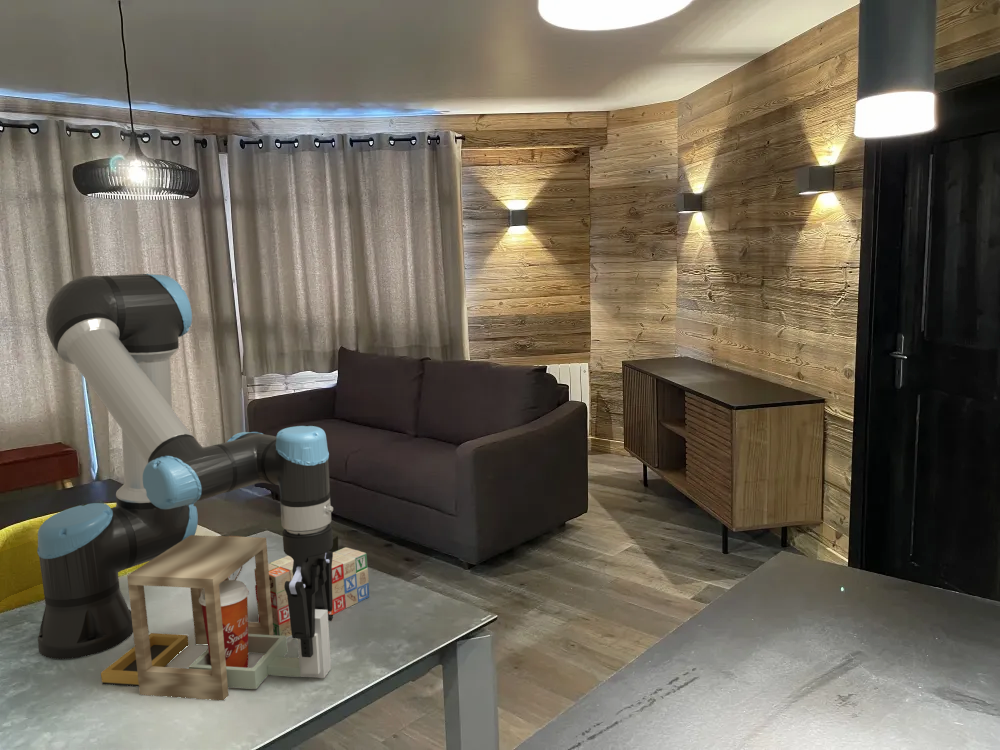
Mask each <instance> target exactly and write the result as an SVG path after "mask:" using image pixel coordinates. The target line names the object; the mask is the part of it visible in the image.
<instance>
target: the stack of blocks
mask: <svg viewBox="0 0 1000 750" xmlns="http://www.w3.org/2000/svg"><path fill="white" fill-rule="evenodd" d="M332 552H333V559H332V602H333V608H332V611H331V612H328V613H329V614H330V615H333V616H334V615H335V614H337V613H340V612H342V611H344V610H346V609H348V608H349V607H352V606H354V605H355V604H358V603H360V602H362V601H364V600H366V599H368V598H370V584H369V568H368V557H367V553H366V552H364V551H360V550H358V549H354V548H350V547H343V548H341V549H338V550H335V551H332ZM293 561H294V560H293V559H292V558H291V557H290V556H288V555H285V556H284V557H282V558H279V559H276V560H273V561H272V562H268V568H269V581H270V594H271V607H272V620H273V633H274V635H279V636H286V639H287V638H289V637H292V633H291V624H290V615H289V606H288V597H287V593H286V591H285V588H284V585H285V582H286V581H291V580H292V578H293V572H292V569H293ZM253 570H254V580H255V585H254V589H255V590H254V591H255V597H256V599H255V600H256V605H257V617H258V619H257V620H258V622H260V614H259V601H258V588H257V576H256V567H255V568H254V569H253Z"/></svg>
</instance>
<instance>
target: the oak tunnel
mask: <svg viewBox="0 0 1000 750" xmlns="http://www.w3.org/2000/svg"><path fill="white" fill-rule="evenodd" d="M267 543H268V542H267V537H256V536H253V537H251V536H242V537H229V535H227V536H222V535H190V536H189V537H187V538H186V539H184V540H182V541H181V542H179V543H178V544H176V545H174V546H173V547H171V548H170V549H168V550H167V551H165V552H163V553H162V554H160V555H159V556H157V557H156V558H154V559H152V560H151V561H148V562H145V563H143V564H142V566H140V567H138V568H137V569H135V570H134V571H131V572H130V573H129V574H126V575H127V586H128V595H129V605H130V611H131V616H132V626H133V633H132V635H133V641H134V642H133V643H134V646H135V654H136V663H137V673H138V682H139V687H138V690H139V695H140V696H151V695H152V697H153V695H154V697H163V696H167V697H166V698H177V697H181V698H180V699H191V698H196V699H195V700H205V699H207V701H208V700H209V699H211V700H209V701H219V700H224V699H225V698H226V697H228V696H230V695H229V687H228V683H227V671H226V660H225V648H224V637H223V625H222V614H221V602H220V591H219V584H220V583H221V582H223V581H224V580H225V579H226V578H228V577H229V576H230V575H231V574H233V573H234V572H235V571H236V570H238V569H239V568H240V567H241V566H242V567H243V566H244V565H245V564H246V563H248V562H249V561H250V560H251V559H253V558H254V559H255V561H254V562H255V568H256V576H257V588H258V601H259V614H260V622H259V621H258V622H257V621H255V622H254V621H248V634H261V635H274V633H273V620H272V607H271V594H270V581H269V568H268V564H269V559H268V557H269V556H268V547H267V546H268V545H267ZM147 586H148V587H168V588H169V587H170V588H189V589H190V597H191V609H192V622H193V629H194V631H193V632H194V639H195V643H194V644H195V645H196V644H207V637H206V631H205V624H204V618H203V611H202V605H201V604H200V603H199V598H200V596H201V592H202V590H203V589H204V591H205V602H206V613H207V624H208V635H209V646H210V657H211V668H212V670H202V669H189V668H185V667H184V668H183V667H171V666H169V667H167V666H165V667H156V666H152V660H151V650H150V641H149V634H150V633H149V622H148V614H147V613H148V612H147V603H146V594H145V587H147ZM171 696H172V697H171ZM185 697H186V698H185ZM226 699H227V698H226ZM226 699H225V700H226ZM225 700H224V701H225Z"/></svg>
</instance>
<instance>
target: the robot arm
mask: <svg viewBox="0 0 1000 750" xmlns="http://www.w3.org/2000/svg"><path fill="white" fill-rule="evenodd" d="M50 300H51V301H50V303H49V305H48V307H47V311H46V316H45V317H46V318H45V324H46V333H47V335H48V339H49V341H50V343H51V345H52V347H53V348H54V350H55V351H56V353H57V354H58V356H60V358H61V359H62V360H63V361H64V362H66V363H68V364H72V365H74V366H75V367H76V369H77V371H78V372H80V374H81V376H82V377H83V378H84V380H85V381H86V382H87V384H88V385H89V386H90V388H91V389H92V391H93V392H94V393H95V394H96V396H97V397H98V398H99V400H100V401H101V403H102V404H103V405H104V407H105V408H106V409H107V412H109V414H110V415H111V416H112V418H113V419H114V421H115V422H116V424H117V425H118V426H119V427H120V429H121V436H122V438H121V441H122V460H123V480H124V483H123V485H122V486H120V487H119V489H117V490H116V493H115V499H116V500H115V502H116V503H115V506H114V507H110V506H109V505H108V504H106V503H102V502H94V503H87V504H85V505H77V506H73V507H70V508H67V509H64V510H62V511H59V512H57V513H56V514H53V515H51V516H50V517H48V518H47V519H46V520H45V521H43V523H42V524H41V525H40V526H39V528H38V531H37V555H38V557H39V565H40V572H41V573H40V574H41V579H42V580H41V582H42V587H43V588H42V589H43V596H44V602H45V606H44V609H43V616H42V618H41V619H42V620H41V624H40V628H39V633H38V634H37V635H38V636H37V645H38V651H39V652H38V653H39V654H41V656H43V657H45V658H48V659H51V660H52V659H53V660H73V659H78V658H84V657H85V658H86V657H89V656H93V655H96V654H99V653H102V652H104V651H108V650H110V649H113V648H114V647H117V646H119V645H120V644H122V643H123V642H125V641H126V640H128V638H129V639H130V636H132V635H133V626H132V616H131V609H129V607H128V604H127V602H126V600H125V598H124V596H123V593H122V592H121V588H120V581H119V577H120V576H119V573H120V572H122V571H124V570H128V569H130V568H133V567H136V566H139V565H143V564H146V563H148V562H149V561H151V560H152V559H154V558H156V557H157V556H159V555H160V554H162V553H163V552H165V551H167V550H168V549H170V548H171V547H173V546H174V545H176V544H178V543H179V542H181V541H182V540H184V539H186V538H187V537H189V536H190V535H195V534H196V532H197V529H198V522H199V518H198V516H199V515H198V509H197V506H196V505H195V503H197V502H199V501H203V500H206V499H208V498H212V497H215V496H219V495H222V494H226V493H229V492H233V491H236V490H240V489H242V488H243V489H244V488H246V487H249V486H252V485H256V484H260V483H263V484H268V485H269V484H270V485H273V486H278V487H279V499H280V500H279V501H280V502H279V503H280V517H281V518H280V519H281V527H282V528H283V531H282V542H283V544H282V545H283V547H282V548H283V552H284V554H285V555H286V556H290V557H291V558H292V559H293V560H294V561H293V569H292V572H293V578H292V580H291V581H286V582H285V585H284V588H285V591H286V593H287V597H288V606H289V615H290V624H291V633H292V635H291V638H292V639H297V640H298V639H300V649H301V665H302V673H304V674H317V675H318V674H319V673H320V661H319V645H318V633H315V609H322V610H328V612H331V611H332V608H333V602H332V559H333V552H334V551H330V550H332V548H333V546H334V539H333V538H334V537H333V527H332V524H331V522H332V512H333V511H334V507H333V506H332V505H331V493H330V490H331V489H330V488H331V486H330V469H329V468H330V467H329V466H330V465H329V464H330V463H329V457H330V453H329V449H328V441H327V435H326V432H325V430H324V429H323V428H321V427H319V426H315V425H314V426H313V425H308V426H306V425H297V426H290V427H286V428H282V429H280V430H279V431H278V432H277V434H276V436H274V435H270V434H264V433H262V432H258V431H251V432H250V431H249V432H248V431H243V432H238V433H235V434H234V435H232V437H230V438H229V439H228V440H227V441H226V442H222V443H218V444H212V445H209V446H202V445H201V444H200V443H199V442H198V440H197V439H196V438H195V437H194V435H193V434H192V433H191V431H190V430H189V429H188V428H187V426H186V425H185V423H184V422H183V421H182V420H181V418H180V417H179V416H178V414H177V413H176V412H175V411H174V409H173V401H172V379H171V378H172V376H171V375H172V374H171V373H172V372H171V371H172V370H171V367H172V366H171V358H172V356H173V355H175V353H176V352H177V351H178V350H179V344H180V343H179V338H180V337H181V338H182V337H183V336H184V335H187V333H188V332H189V331H190V328H191V326H192V321H193V312H192V311H193V310H192V306H191V302H190V299H189V297H188V295H187V293H186V291H185V290H184V288H182V285H181V284H180V283H179V282H178V281H176V280H175V279H174V278H173V277H171V276H168V275H164V274H151V273H150V274H149V273H137V274H136V273H135V274H117V275H116V274H115V275H114V274H113V275H86V276H80V277H78V278H75V279H73V280H71V281H70V280H69V282H67V283H66V284H64V285H63V286H61V287H60V288H59V289H58V291H56V293H55V294H54V295H53V296H52V299H50ZM333 618H334V614H333V615H330V614H329V613H328V622H329V621H330V622H332V621H333V620H334V619H333Z"/></svg>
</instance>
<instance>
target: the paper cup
mask: <svg viewBox="0 0 1000 750" xmlns="http://www.w3.org/2000/svg"><path fill="white" fill-rule="evenodd" d="M219 591H220V602H221V614H222V625H223V637H224V648H225V660H226V666H228V667H244V668H249V653H248V622H249V619H248V618H249V615H248V614H249V613H248V612H249V611H248V608H249V606H248V596H249V594H250V590H249V588H247V585H246V584H245V582H243V581H241V580H237V579H236V580H225V581H223V582H221V583H220V584H219ZM199 603H200V604H201V605H202V611H203V618H204V624H205V631H206V637H207V644H208V645H207V649H208V650H209V656H210V646H209V635H208V624H207V613H206V602H205V591H204V588H203V590H202V592H201V596H200V598H199ZM210 662H211V657H210Z"/></svg>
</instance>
